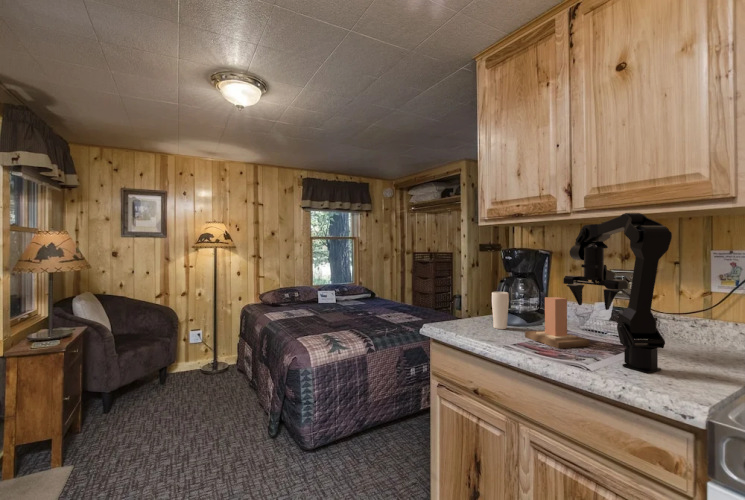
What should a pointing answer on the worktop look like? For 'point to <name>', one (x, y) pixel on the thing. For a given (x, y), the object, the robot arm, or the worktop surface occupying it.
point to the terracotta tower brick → (556, 316)
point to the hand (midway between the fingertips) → (593, 307)
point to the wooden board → (557, 339)
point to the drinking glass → (500, 309)
